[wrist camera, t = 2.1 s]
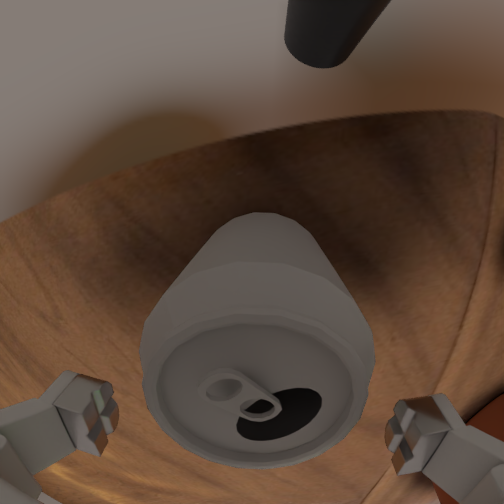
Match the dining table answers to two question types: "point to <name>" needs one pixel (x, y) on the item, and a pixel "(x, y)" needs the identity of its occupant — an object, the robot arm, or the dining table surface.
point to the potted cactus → (488, 421)
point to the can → (257, 349)
